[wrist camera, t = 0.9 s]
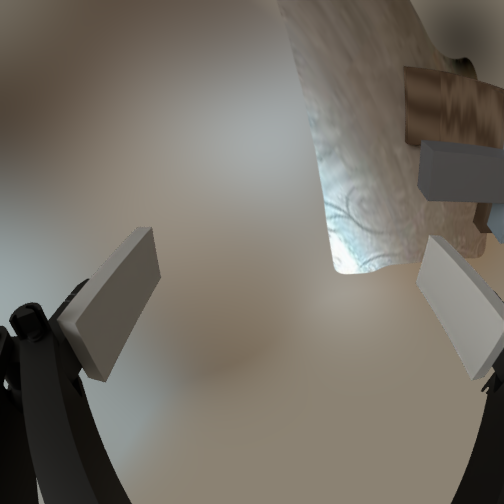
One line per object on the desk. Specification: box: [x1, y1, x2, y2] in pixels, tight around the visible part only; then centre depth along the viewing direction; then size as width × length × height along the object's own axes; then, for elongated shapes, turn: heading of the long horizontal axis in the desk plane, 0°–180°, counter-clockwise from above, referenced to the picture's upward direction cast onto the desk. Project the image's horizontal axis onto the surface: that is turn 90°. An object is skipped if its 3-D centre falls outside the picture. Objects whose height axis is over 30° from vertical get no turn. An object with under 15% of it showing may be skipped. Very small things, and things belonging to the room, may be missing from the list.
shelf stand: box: [404, 66, 504, 233], centre depth 27 cm, size 14×9×28 cm, turn 10°
